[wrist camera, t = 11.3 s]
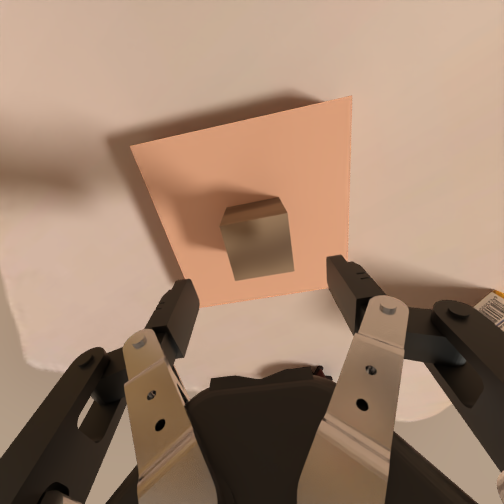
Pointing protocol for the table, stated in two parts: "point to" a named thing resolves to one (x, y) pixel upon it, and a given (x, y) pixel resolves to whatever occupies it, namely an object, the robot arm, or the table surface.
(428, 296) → the table surface
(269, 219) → the walnut cube
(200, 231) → the terracotta base
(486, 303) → the beverage box
